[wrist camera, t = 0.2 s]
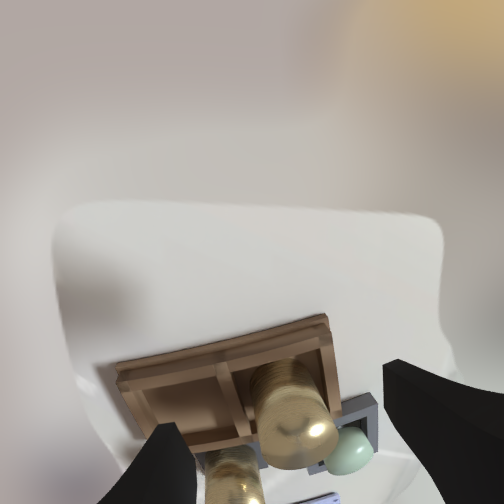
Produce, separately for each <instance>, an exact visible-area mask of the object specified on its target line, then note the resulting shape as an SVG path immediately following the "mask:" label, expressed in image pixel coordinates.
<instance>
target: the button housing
mask: <svg viewBox="0 0 504 504" xmlns="http://www.w3.org/2000/svg"><path fill="white" fill-rule="evenodd" d="M341 408H342V417H340V418H338V419H335V420H333V422H334V424H335V426H336V427H339V426H341V425H344V424H347V423H350V422H353V421H355V420H358V419H361V430H362V431H363V432H364V434H365V436H366V437H367V439H368V441H369V443H370V444H371V446H372V448H373V451H374V453H376V452H378V403H377V402H376V400H375V399H374V397H373V396H372V395H371V393H370V392H369V393H367V394H364V395H361V396H359V397H356V398H353V399H351V400H348V401H345V402H342V403H341ZM307 470H308V473H309V475H313V474H316V473H319V472H323V471H326V470H327V468H326V465H325V463H324V460H322V461H320V462H318V463H316V464H314V465H312V466H309V467H307Z"/></svg>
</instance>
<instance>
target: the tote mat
mask: <svg viewBox="0 0 504 504" xmlns="http://www.w3.org/2000/svg"><path fill="white" fill-rule="evenodd" d="M246 445H248V446H250V447H251V448H253V449H254V451H255V452H256V455H257V460H258V466H259V469H263V468H267V467H268V464H267V462H266V461H265V460H264V459H263V457H262V453H261V448H260V443H259V441H257V442H252V443H248V444H246ZM206 452H207V451H205V452H199V453H195V455H196V457H197V459H198V461H199V462H200V464H201V466H202V467H203V469H204V471H205V454H206Z"/></svg>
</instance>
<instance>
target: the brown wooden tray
mask: <svg viewBox="0 0 504 504" xmlns="http://www.w3.org/2000/svg"><path fill="white" fill-rule="evenodd" d="M285 358H293V359H296V360H298V361H300V362H301V363H303V364H304V365H305V366H306V368H307V369H308V371H309V373H310V375H311V377H312V379H313V381H314V383H315V385H316V387H317V389H318V391H319V393H320V396H321V398H322V400H323V402H324V404H325V406H326V408H327V410H328V412H329V414H330V416H331V418H332V420H335V419H338V418H340V417H342V408H341V399H340V391H339V383H338V375H337V368H336V360H335V353H334V346H333V340H332V333H331V331H330V327H329V320H328V316H327V315H326V314H325V313H324V314H321V315H318V316H314V317H311V318H308V319H304V320H301V321H297V322H294V323H290V324H287V325H283V326H279V327H276V328H272V329H268V330H265V331H261V332H257V333H253V334H249V335H246V336H242V337H238V338H234V339H230V340H225V341H221V342H217V343H213V344H209V345H204V346H200V347H196V348H191V349H187V350H182V351H177V352H173V353H168V354H163V355H158V356H153V357H148V358H143V359H137V360H132V361H127V362H121V363H117V365H116V367H115V369H116V371H117V373H118V375H119V376H118V378H117V381H116V385H117V387H118V389H119V391H120V392H121V394H122V396H123V398H124V400H125V402H126V404H127V406H128V407H129V409H130V411H131V413H132V415H133V416H134V418H135V420H136V422H137V423H138V425H139V427H140V429H141V430H142V432H143V434H144V435H145V437H146V439H147V440H148V438H149V437H150V435H151V434H152V432H153V431H154V429H155V428H156V426H157V425H158V424H163V423H170V422H175V424H176V425H177V427H178V429H179V431H180V433H181V435H182V437H183V439H184V440H185V442H186V444H187V446H188V448H189V450H190V451H191V453H199V452H205V451H212V450H217V449H223V448H228V447H233V446H238V445H243V444H248V443H252V442H257V441H259V437H258V432H257V427H256V421H255V416H254V410H253V405H252V399H251V394H250V388H249V383H250V379H251V376H252V374H253V373H254V371H255V370H256V369H257V368H258V367H259V366H260V365H262V364H266V363H270V362H274V361H277V360H281V359H285Z"/></svg>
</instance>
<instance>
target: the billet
mask: <svg viewBox="0 0 504 504" xmlns="http://www.w3.org/2000/svg"><path fill="white" fill-rule="evenodd" d="M205 504H265V500H264V494H263V489H262V483H261V478H260V472H259V466H258V460H257V455H256V452H255V451H254V449H253V448H251V447H250V446H248V445H246V444H243V445H238V446H233V447H228V448H223V449H217V450H212V451H207V452H206V454H205Z"/></svg>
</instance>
